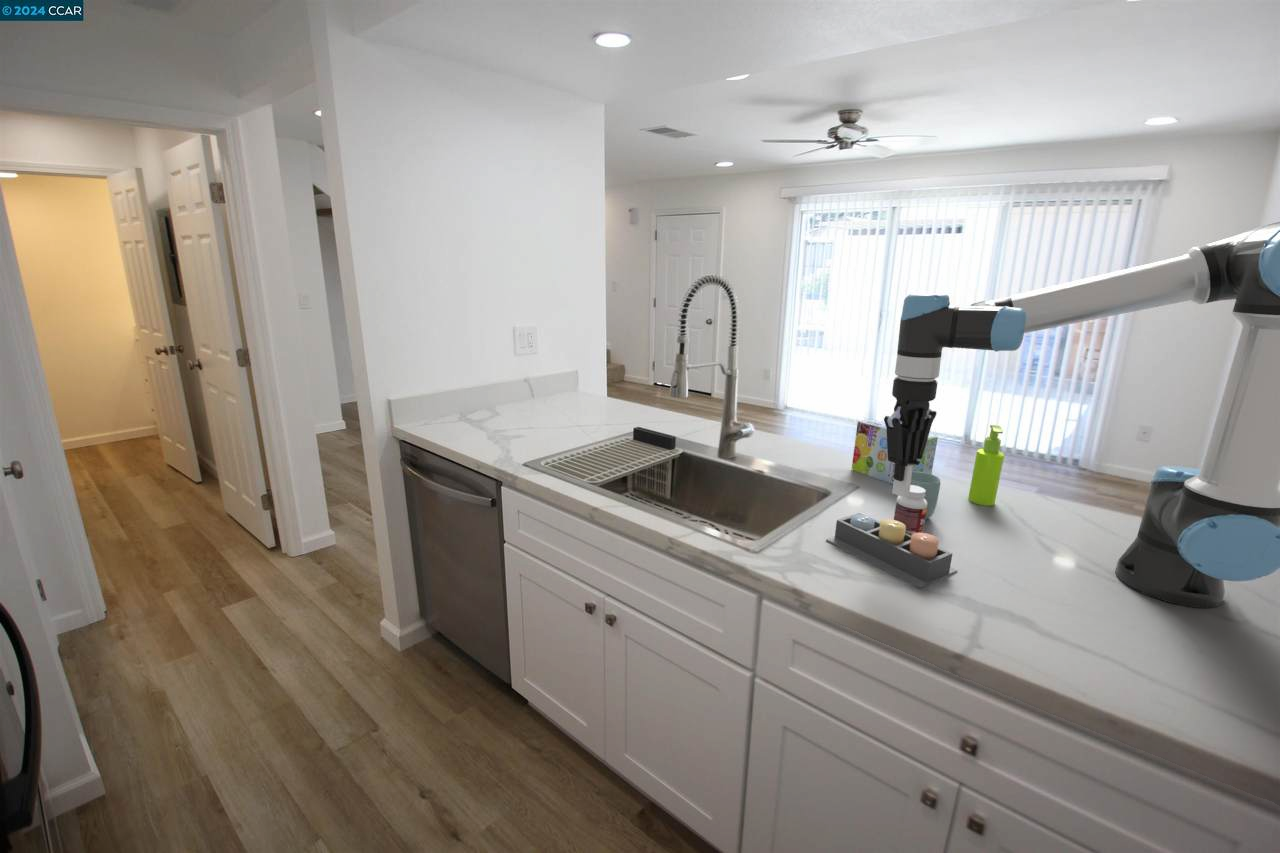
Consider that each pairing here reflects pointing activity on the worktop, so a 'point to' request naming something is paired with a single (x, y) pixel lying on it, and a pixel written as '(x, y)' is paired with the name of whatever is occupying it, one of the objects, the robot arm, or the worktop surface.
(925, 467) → the snack box
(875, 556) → the grey compartment tray
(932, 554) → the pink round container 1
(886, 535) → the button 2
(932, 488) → the cup
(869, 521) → the light blue block
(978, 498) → the soap dispenser
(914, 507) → the pill bottle
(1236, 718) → the worktop surface
